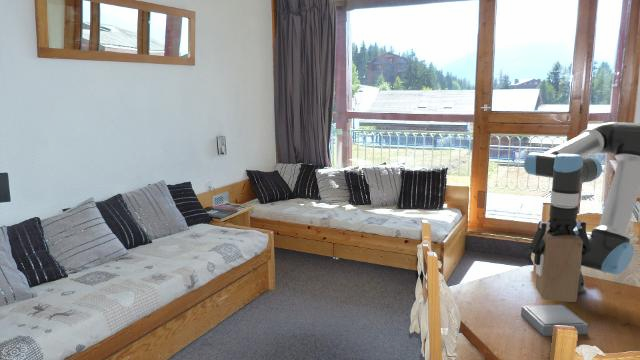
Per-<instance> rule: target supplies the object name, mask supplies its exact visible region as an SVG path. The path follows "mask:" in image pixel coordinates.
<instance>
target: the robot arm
mask: <svg viewBox="0 0 640 360" xmlns="http://www.w3.org/2000/svg"><path fill="white" fill-rule="evenodd" d="M599 153H601V154H613V155H614V158H615V160H616V161H617V165H616V168H615V172H614V175H613V177H612V182H611V185H610V187H609V188H610V189H609V191H608V194H607V198H606V202H605V204H604V207H603V211H602V214H601V217H600V221H599V225H597V226H595V227H593V228H592V231H591V233H587V222H585V221H582V220H577V218H578V209H579V208H578V207H577V206H578V205H579V204H580V203H579V199H580V189H581V184H584V183H589V182H590V183H591V182H592V181H595V180H597V179H599V177H600V176H601V175H602V171H603V167H602V166H603V165H602V163H601V162H600V161H599V160H598V159H597V158H596V157H591V156H590V155H596V154H599ZM588 155H589V156H588ZM523 164H524V166H523V168H524V170H525V172H526V173H527V174H528V175H534V176H535V177H543V178H550V179H551V178H552V183H551V185H552V187H551V193H550V195H551V196H550V203H551V204H550V206H549V220H548V221H545V222H544V221H541V220H540V221H539V222H538V223H537V225H538V226H537V230H536V231H535V232H536V233H535V234H534V236H533V239H532V241H531V242H530V245H529V247H528V251H529V252H531V253H532V254H534V257H533V258H534V259H533V262H534V265H535V274H536V275H537V274H538V275H539V276H542V274H543V263H544V255H542V253H543V252H544V251H545V242H544V238H543V236H544V234H545V232H546V230H548V231H547V233H548V234H550V235H552V236H557V235H569V234H570V235H578V236H579V237H580V238H581V239H582V241H583V246H582V255H581V265H580V274H579V284H578V293H577V295H579V294H582V293H583V292H585V286H586V285H585V279H584V277H583V271H582V267H584V268H585V267H586V268H589V269H592V270H595V271H600V272H602V273H605V274H606V273H607V274H612V275H620V274H622V273H623V272H624V271H625V270H627V268H628V267H629V265H630V264H631V262H632V260H633V258H634V257H633V256H634V251H635V248H634V246H633V244H632V243H630V241H631V237H630V235H628V229H629V226H630V223H631V219H632V216H633V214H634V213H633V212H634V209H635V206H636V203H637V199H638V196H639V193H640V122H638V123H637V122H624V121H622V122H621V121H620V122H619V121H610V122H604V123H600V124H597V125H593V126H591V127H588V128H587V129H584V130H582V131H581V132H579V134H578V135H577V136H576V137H573V138H572V139H570V140H567V141H565V142H563V143H561V144H558V145H556V146H555V147H553V148H550V149H548V150H547V151H544V152H539V151H538V152H529V153H528V154H527V155H526V156H525V158H524V163H523ZM548 227H549V229H548ZM552 232H553V234H552ZM542 239H543V240H542Z"/></svg>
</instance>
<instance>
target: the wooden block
mask: <svg viewBox="0 0 640 360" xmlns="http://www.w3.org/2000/svg"><path fill="white" fill-rule="evenodd" d="M548 230H549V229H546V232H545V234H544V236H543V238H544V242H545V251H544V252H543V253H542V255H544V263H543V274H542V276H539V275H538V274H536V281H535V288H536V290H537V291H538V293H539V295H540V297H541V299H542V300H545V301H555V302H556V301H557V302H568V303H575V302H577V301H578V294H577V293H578V284H579V274H580V265H581V255H582V246H583V241H582V239H581V238H580V237H579V236H578V235H570V234H569V235H557V236H552V235H550V234H548V233H547V231H548ZM552 234H553V232H552ZM542 240H543V239H542ZM581 266H582V265H581Z"/></svg>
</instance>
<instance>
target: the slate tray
mask: <svg viewBox="0 0 640 360" xmlns="http://www.w3.org/2000/svg"><path fill="white" fill-rule="evenodd" d="M520 315H521V316H522V317H523V319H525V321H527V322H528V323H529V324H530V325H531V326H532V327H533V328H534V329H536V330H537V332H538V333H540V335H541V336H543V337H545V336H547V337H549V336H553V335H552V333H553V326H554V325H568V326H574V327H575V328H576V329H577V331H578V334H577V335H587V334H588V332H589V324H588V323H587V322H586V321H584V320H583V319H582V318H580V317H579V316H578V315H577V314H575V313H574V312H572V311H571V309H569V308H568V307H567V306H565V305H564V304H545V305H544V304H542V305H541V304H540V305H539V304H538V305H521V310H520Z"/></svg>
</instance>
